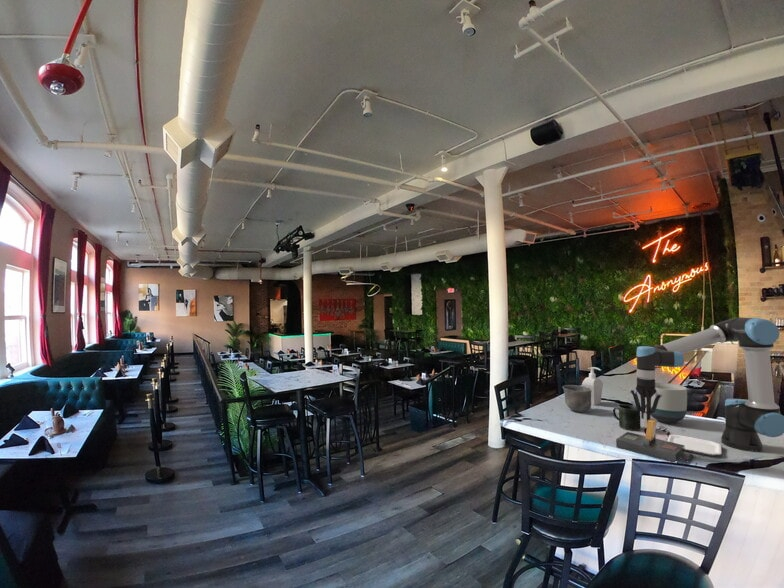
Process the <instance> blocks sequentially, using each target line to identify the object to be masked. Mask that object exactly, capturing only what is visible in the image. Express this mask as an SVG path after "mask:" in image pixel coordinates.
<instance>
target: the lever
mask: <svg viewBox="0 0 784 588" xmlns="http://www.w3.org/2000/svg"><path fill="white" fill-rule="evenodd" d="M657 422H658V420H656V419H655V418H653V417H652V418H651V419H650V420H648V423H647V427H646V430H645V431H646V433H645V436H646V437H645V438H646V439H649V441H650V442H651V441H652V440H653V439H654V437H655V434H656V429H657Z"/></svg>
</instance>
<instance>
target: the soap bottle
mask: <svg viewBox="0 0 784 588" xmlns="http://www.w3.org/2000/svg"><path fill="white" fill-rule="evenodd" d="M588 369H589V370H590V373H588V377H585V378H584V380H582V383H581V386H584V387H587V388H590V389H592V391H591V406H598V405H601V403H602V394H603V385H604V382H603V381H602V380H601V379H600V378H599V377H596V375H597V374H596V373H595V370H598V371H602V369H600V368H599V367H596V366H595V367H594V366H591V367H587V370H588Z"/></svg>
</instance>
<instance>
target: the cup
mask: <svg viewBox="0 0 784 588" xmlns="http://www.w3.org/2000/svg"><path fill="white" fill-rule="evenodd" d="M562 389H563V393H564V402H565V404H566V406H567V407H568V409H570V410H572V411H573V412H578V413H583V412H587V411H589V410H590V409H591V408H592V405H591V391H592V389H590V388H587V387H584V386H582V385H578V384H577V385H576V384H565V385H562Z"/></svg>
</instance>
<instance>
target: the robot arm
mask: <svg viewBox="0 0 784 588" xmlns="http://www.w3.org/2000/svg"><path fill="white" fill-rule="evenodd" d="M779 338H780V330H779V327H778V326H777V324H776V323H774V322H772V321H770V320H768V319H765V318H760V317H759V318H758V317H742V316H741V317H740V316H739V317H733V318H728V319H726V320H723V321H720V322H718V323H714V324H712V325H710V326H709V328H707V329H703V330H701V331H698V332H694V333H692V334H690V335H686V336H683V337H679V338H677V339H674V340H672V341H669V342H665V343H663V344H660V345H656V346H654V347H653V346H649V345H648V346H646V345H641V346H637V347H636V356H635V357H636V386H635V388H634V389H631V390H630V393H631V395H632V398H633V401H634V403H635V406H636V408H637V410H639V411H640V419H642V420H643V427H645V428H647V423H648V420H650V419H651V417H652V416H651V413H654V412H655V411H656V408H657V405H658V401H659V399H660V398H661V397H662V395H661V394H659V393H657V391H656V389H655V382H656V367H665V368H666V367H667V368H681V367H683V366H684V364H685V357H684V354H686V353H689V352H693V351H695V350H699V349H701V348H705V347H708V346H711V345H714V344H716V343H721V344H723V343H728V342H733V341H734V342H736V341H738V347H739V348H741V349H742V350H743V355H744V366H745V375H746V386H747V395H748V396H747V397H748V399H744V398H743V399H742V398H726V399H725V400H724V415H725V416H724V419H725V421H724V422H725V428H724V430H723V433H722V435H721V438H720V439H721V443H722V444H723V445H725V446H728V447H731V448H734V449H737V448H738V450H741V449H742V450H743V451H747V450H753V451H752V452H761V451H760V450H762V449H763V450H764V447H763V446H764V445H763V442H762V440H761V438H760V436H759V435H761V436H766V437H769V438H777V437H781V436H783V435H784V415H783V414H782V413H781V409H780V406H779V404H777V403H775V394H774V383H773V375H772V364H771V353H770V351H772V349H773V348H774V347H775V346H774V345H775V343H776V342H777V340H779ZM654 394H655V397H656V398H655V400H654V403H653V406H652V409H651V397H652V396H653V395H654ZM638 395H639V396H638ZM639 397H640V399H639ZM645 398H646V399H647V407H646V399H645ZM742 450H741V451H742ZM763 450H762V451H763Z"/></svg>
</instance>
